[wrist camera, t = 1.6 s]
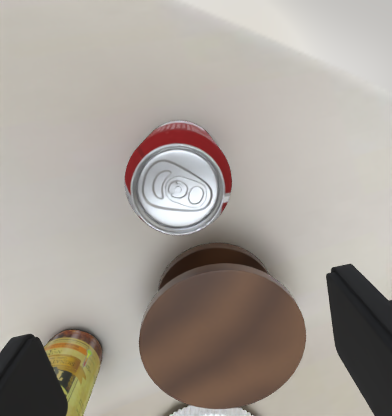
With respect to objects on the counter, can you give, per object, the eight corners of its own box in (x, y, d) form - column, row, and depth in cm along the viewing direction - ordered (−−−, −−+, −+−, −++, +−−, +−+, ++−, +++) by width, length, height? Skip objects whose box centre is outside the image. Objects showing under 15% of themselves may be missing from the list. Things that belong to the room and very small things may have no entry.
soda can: (155, 109, 30) (138, 114, 18) (227, 134, 31) (253, 155, 19) (134, 180, 32) (106, 226, 20) (202, 202, 32) (212, 258, 21)
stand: (123, 312, 36) (107, 365, 29) (197, 207, 33) (201, 237, 25) (229, 369, 39) (240, 431, 31) (308, 277, 35) (340, 323, 28)
